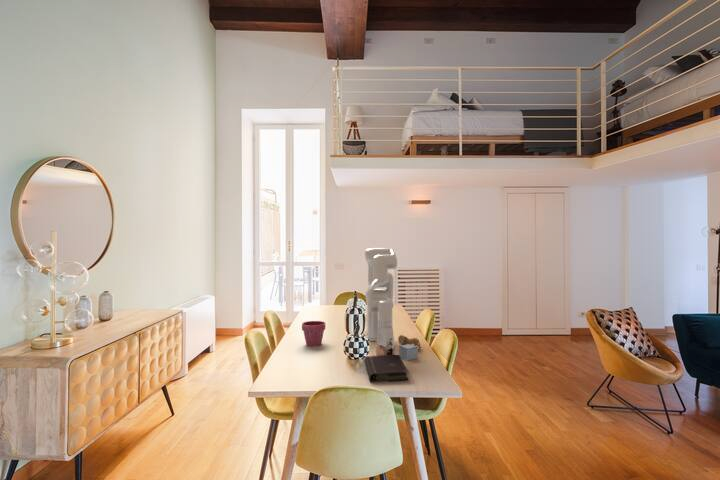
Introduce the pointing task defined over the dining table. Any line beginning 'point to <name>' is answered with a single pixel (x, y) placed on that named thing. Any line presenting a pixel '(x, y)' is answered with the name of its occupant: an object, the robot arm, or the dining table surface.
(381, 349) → the reddish brown cube
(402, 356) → the blue cube
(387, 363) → the diary
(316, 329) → the plant pot
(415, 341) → the lion figurine
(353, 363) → the dining table surface
